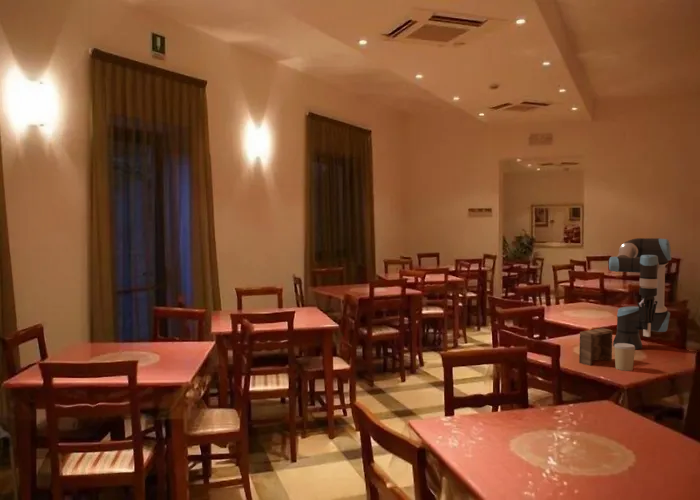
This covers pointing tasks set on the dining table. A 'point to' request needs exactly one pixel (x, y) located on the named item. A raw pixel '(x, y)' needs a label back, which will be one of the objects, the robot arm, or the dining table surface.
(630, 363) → the coffee cup
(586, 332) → the cubby
